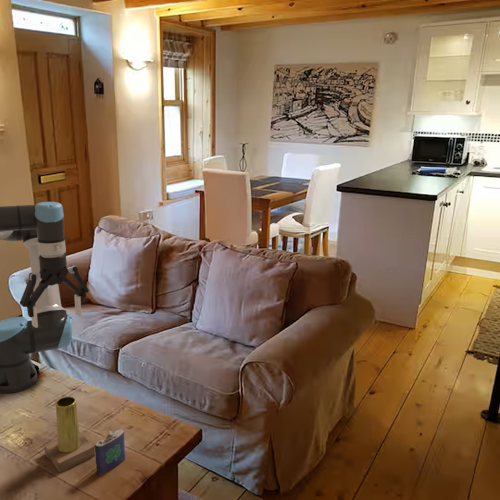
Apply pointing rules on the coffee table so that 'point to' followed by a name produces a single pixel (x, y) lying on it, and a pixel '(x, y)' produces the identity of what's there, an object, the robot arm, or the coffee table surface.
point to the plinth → (69, 454)
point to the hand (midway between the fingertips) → (57, 320)
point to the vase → (67, 425)
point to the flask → (110, 452)
